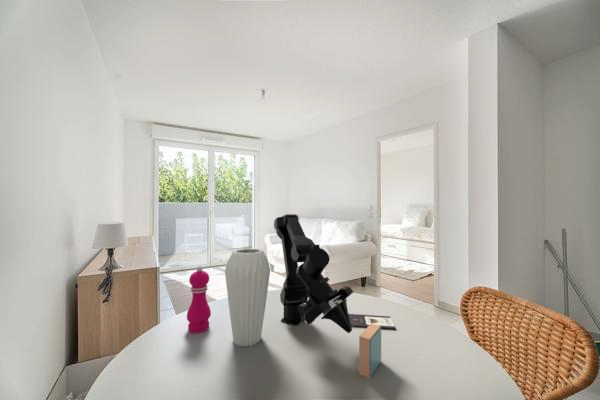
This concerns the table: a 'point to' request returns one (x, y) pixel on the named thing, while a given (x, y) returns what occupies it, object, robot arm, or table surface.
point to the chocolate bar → (371, 321)
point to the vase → (247, 294)
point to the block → (369, 350)
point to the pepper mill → (198, 302)
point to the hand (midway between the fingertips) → (350, 331)
